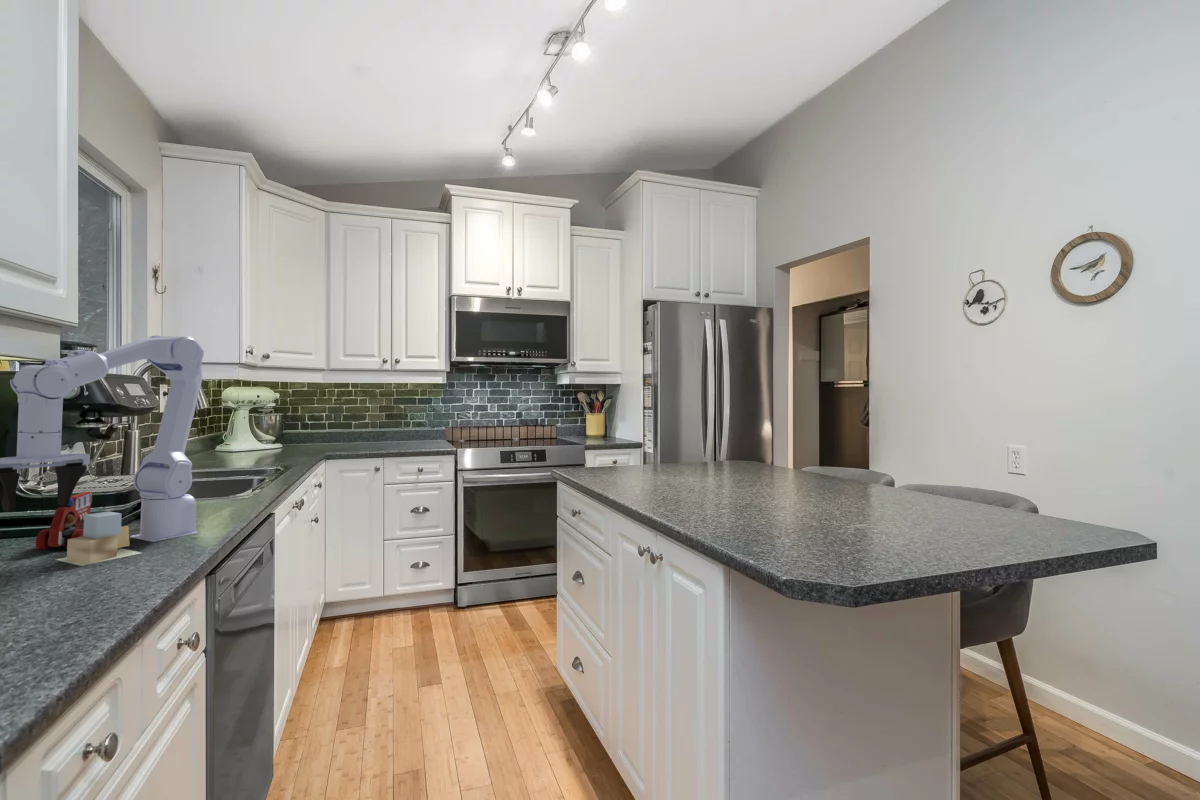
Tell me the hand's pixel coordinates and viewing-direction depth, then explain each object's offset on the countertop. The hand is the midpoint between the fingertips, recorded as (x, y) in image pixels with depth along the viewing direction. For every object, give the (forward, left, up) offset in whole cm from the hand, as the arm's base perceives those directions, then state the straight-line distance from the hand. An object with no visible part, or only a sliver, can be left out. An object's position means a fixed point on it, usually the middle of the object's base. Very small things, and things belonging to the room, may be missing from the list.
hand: (36, 507), depth 104 cm
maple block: (-6, +5, -10) cm, 13 cm away
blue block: (-8, +4, -6) cm, 11 cm away
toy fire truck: (-10, -10, -11) cm, 18 cm away
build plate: (-8, +4, -10) cm, 14 cm away
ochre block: (-12, 0, -10) cm, 16 cm away
